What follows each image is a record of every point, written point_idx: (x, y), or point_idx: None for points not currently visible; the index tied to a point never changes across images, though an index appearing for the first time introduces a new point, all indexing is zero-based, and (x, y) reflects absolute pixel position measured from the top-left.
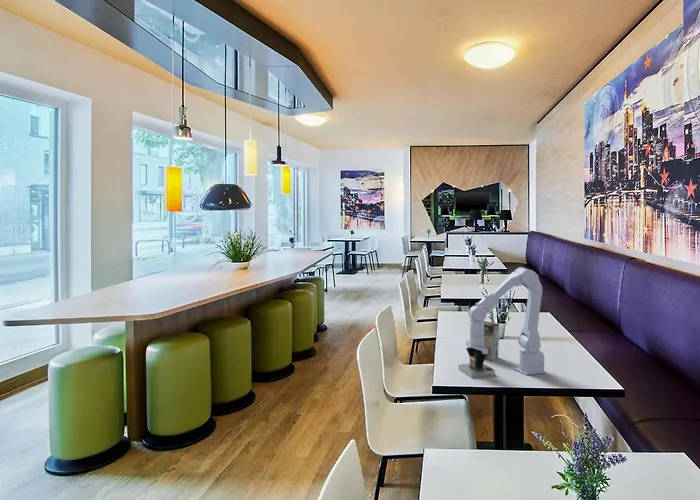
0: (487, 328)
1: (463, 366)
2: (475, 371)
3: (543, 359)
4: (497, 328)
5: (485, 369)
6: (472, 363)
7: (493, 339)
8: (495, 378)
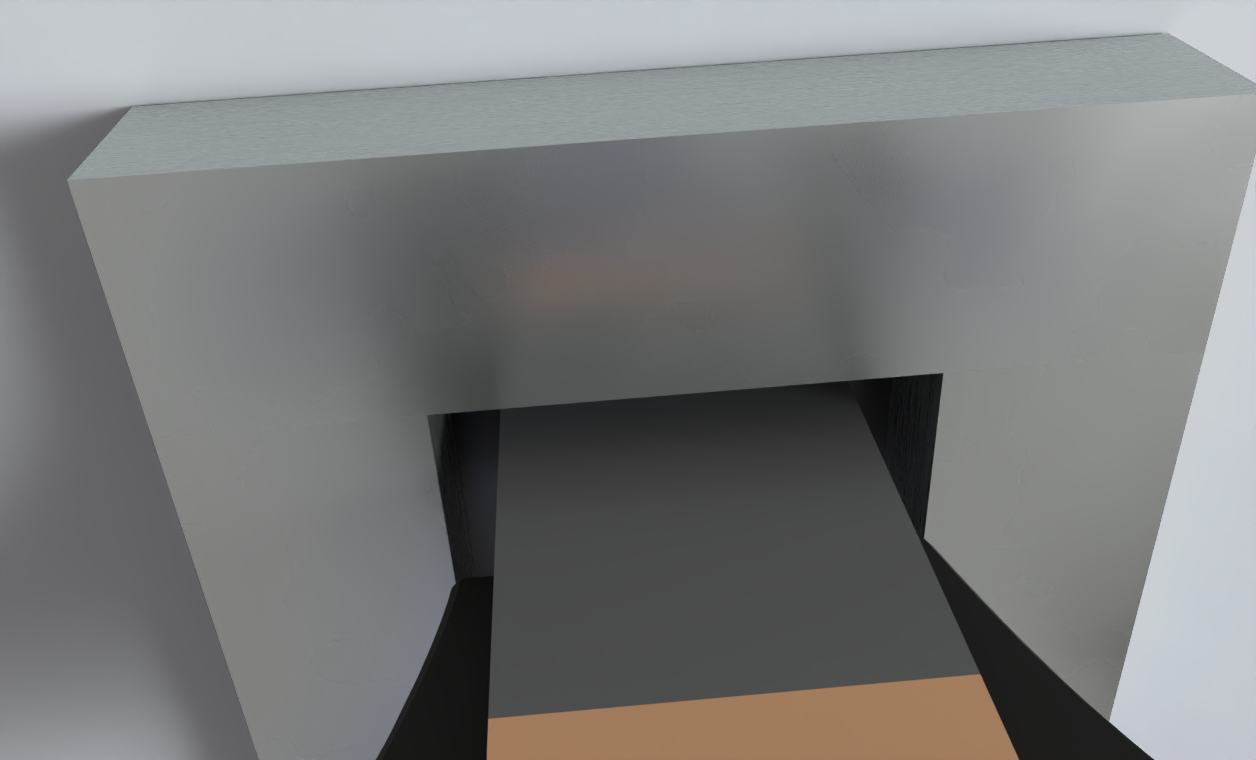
0: None
1: (977, 208)
2: (259, 405)
3: None
4: None
5: None
6: (686, 573)
7: None
8: (68, 725)
